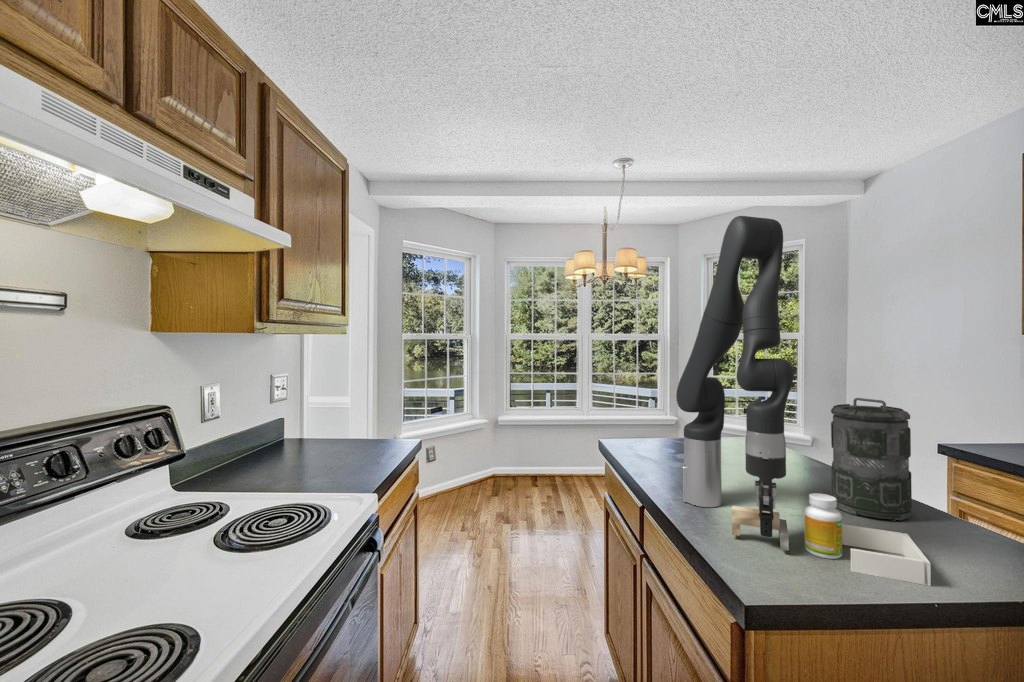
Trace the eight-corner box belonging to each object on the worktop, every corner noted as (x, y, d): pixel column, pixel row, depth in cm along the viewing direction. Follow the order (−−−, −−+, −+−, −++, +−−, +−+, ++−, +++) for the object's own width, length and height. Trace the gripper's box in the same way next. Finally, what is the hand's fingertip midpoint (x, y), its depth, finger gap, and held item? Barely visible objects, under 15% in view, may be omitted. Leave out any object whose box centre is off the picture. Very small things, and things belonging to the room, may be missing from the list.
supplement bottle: (843, 562, 88) (843, 504, 88) (805, 555, 91) (804, 498, 91) (840, 550, 93) (840, 494, 93) (804, 543, 97) (804, 489, 97)
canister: (817, 504, 119) (816, 397, 119) (856, 496, 125) (855, 394, 125) (886, 526, 105) (884, 404, 105) (926, 516, 111) (925, 400, 111)
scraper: (731, 540, 96) (730, 514, 96) (733, 525, 104) (732, 500, 104) (788, 550, 91) (788, 523, 91) (786, 533, 99) (786, 508, 99)
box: (851, 571, 85) (851, 549, 85) (839, 542, 97) (838, 523, 97) (930, 585, 80) (930, 563, 80) (907, 553, 92) (906, 533, 92)
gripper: (746, 443, 105) (747, 519, 105) (744, 457, 93) (745, 542, 93) (784, 447, 101) (785, 525, 101) (787, 461, 89) (788, 550, 89)
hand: (766, 533), depth 97 cm, fingers closed on scraper, 2 cm apart
